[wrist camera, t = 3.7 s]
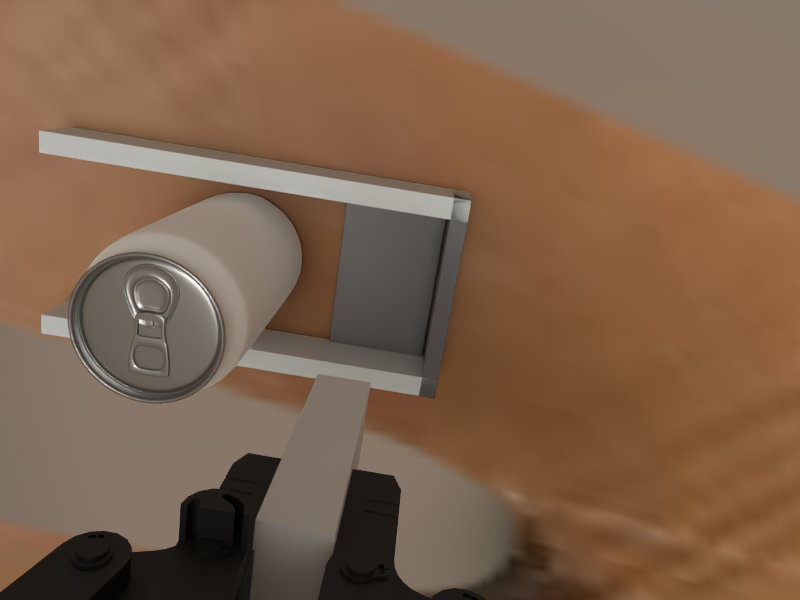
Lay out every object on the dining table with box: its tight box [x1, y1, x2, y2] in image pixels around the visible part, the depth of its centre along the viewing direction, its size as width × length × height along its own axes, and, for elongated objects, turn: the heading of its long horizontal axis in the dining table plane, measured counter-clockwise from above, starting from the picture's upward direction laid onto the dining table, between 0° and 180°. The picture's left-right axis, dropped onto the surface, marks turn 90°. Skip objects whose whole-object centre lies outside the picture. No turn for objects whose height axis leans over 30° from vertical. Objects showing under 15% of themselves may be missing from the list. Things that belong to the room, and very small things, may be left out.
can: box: [68, 193, 302, 403], centre depth 29 cm, size 6×6×12 cm
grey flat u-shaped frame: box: [39, 127, 471, 398], centre depth 33 cm, size 20×10×3 cm, turn 81°
